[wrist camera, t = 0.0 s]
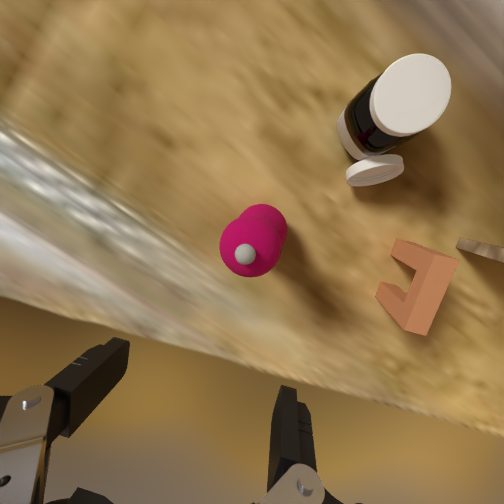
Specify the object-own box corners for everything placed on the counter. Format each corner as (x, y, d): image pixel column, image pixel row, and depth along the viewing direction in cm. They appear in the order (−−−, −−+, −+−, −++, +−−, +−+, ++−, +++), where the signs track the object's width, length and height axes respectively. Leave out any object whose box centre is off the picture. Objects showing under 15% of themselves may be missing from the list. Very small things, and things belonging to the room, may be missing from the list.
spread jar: (393, 76, 34) (447, 18, 22) (432, 152, 35) (502, 132, 24) (312, 132, 36) (324, 105, 25) (352, 200, 38) (380, 203, 27)
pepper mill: (296, 226, 40) (307, 257, 20) (264, 257, 41) (245, 314, 22) (263, 193, 39) (241, 192, 20) (232, 226, 41) (183, 256, 22)
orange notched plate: (396, 238, 38) (435, 254, 28) (414, 242, 38) (459, 260, 28) (375, 296, 40) (403, 330, 31) (391, 301, 40) (425, 335, 30)
